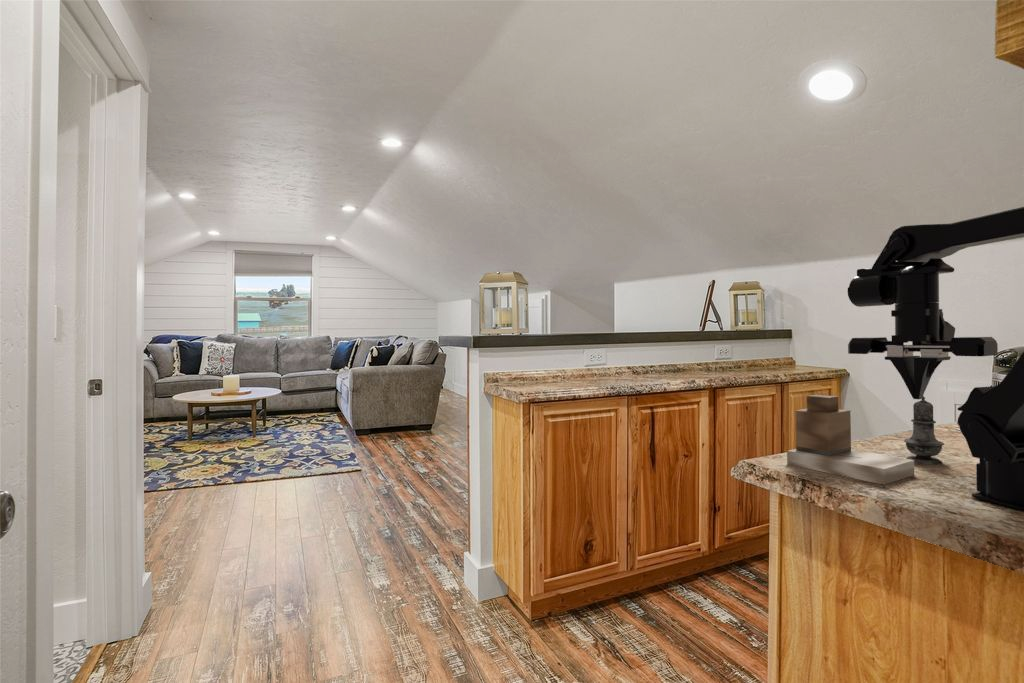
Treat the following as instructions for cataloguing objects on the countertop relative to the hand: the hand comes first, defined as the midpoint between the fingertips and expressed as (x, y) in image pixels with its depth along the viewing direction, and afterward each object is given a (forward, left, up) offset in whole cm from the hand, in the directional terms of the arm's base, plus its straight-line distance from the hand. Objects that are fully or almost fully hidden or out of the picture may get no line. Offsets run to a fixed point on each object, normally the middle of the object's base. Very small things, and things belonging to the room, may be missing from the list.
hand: (917, 399), depth 86 cm
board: (+8, +6, -13) cm, 16 cm away
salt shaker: (+8, -12, -13) cm, 20 cm away
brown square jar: (+12, +7, -10) cm, 17 cm away
